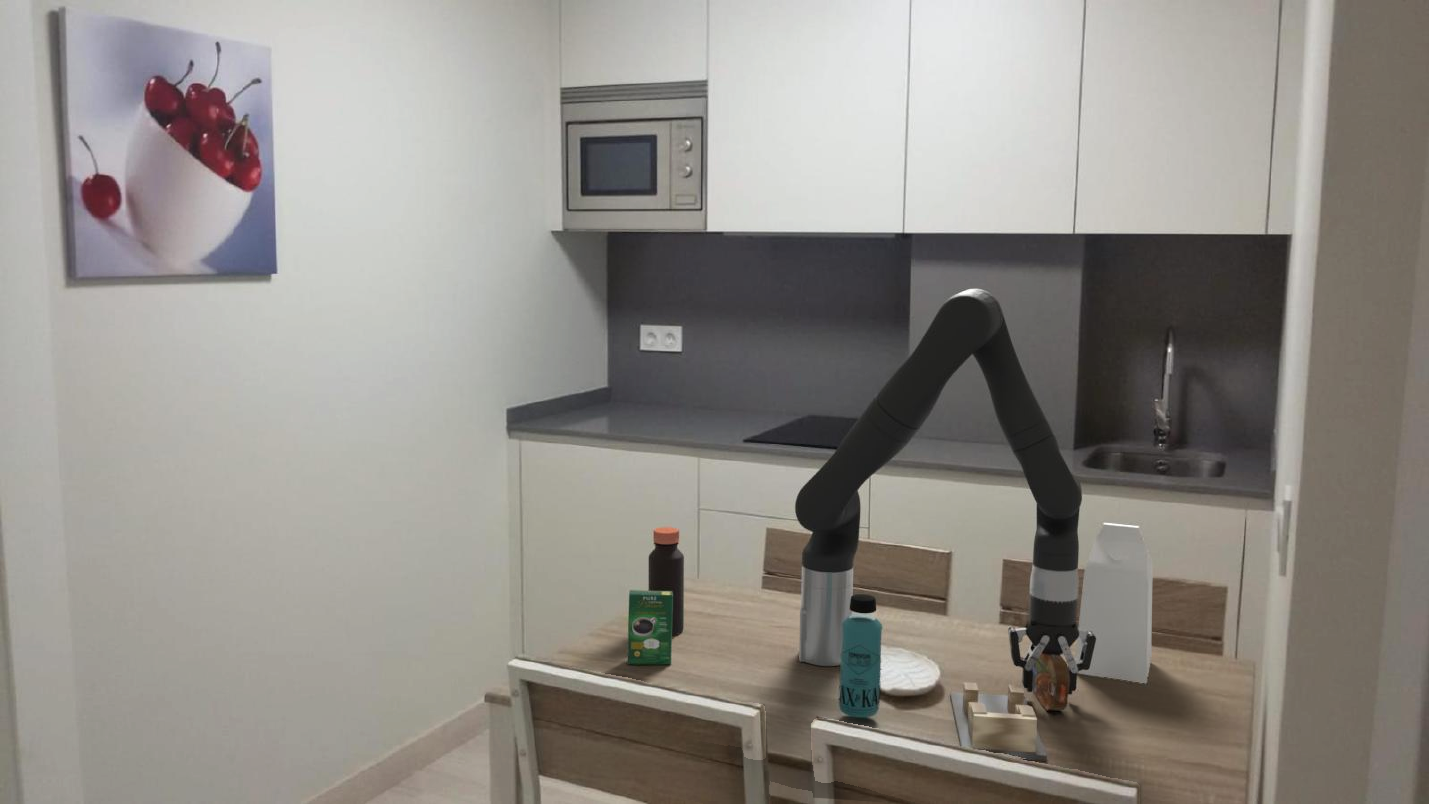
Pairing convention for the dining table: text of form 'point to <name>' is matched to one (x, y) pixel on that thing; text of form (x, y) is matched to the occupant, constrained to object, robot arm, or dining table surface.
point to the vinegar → (668, 571)
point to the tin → (1051, 681)
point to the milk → (1118, 604)
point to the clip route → (997, 722)
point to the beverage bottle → (860, 659)
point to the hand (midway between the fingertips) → (1048, 691)
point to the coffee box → (650, 627)
